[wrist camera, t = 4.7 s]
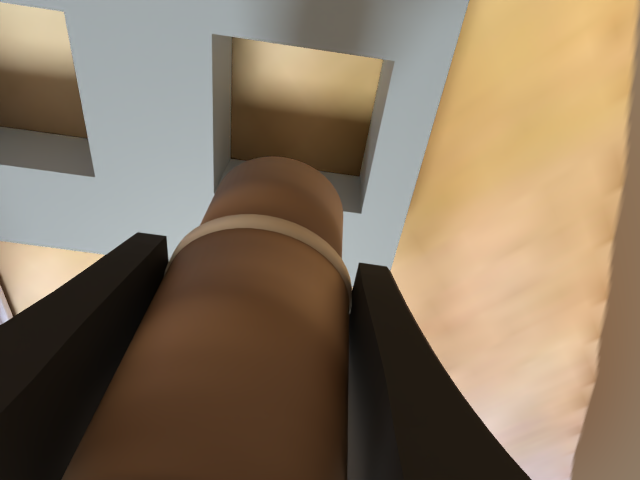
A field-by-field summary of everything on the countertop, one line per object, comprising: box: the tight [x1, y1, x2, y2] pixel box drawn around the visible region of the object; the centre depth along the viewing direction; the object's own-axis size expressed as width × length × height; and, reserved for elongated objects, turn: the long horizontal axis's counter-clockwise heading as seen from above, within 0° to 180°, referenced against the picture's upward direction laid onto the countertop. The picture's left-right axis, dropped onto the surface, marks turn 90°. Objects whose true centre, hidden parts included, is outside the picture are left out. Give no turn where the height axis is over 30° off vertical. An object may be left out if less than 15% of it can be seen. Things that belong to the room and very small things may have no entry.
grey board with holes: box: [0, 0, 469, 287], centre depth 16 cm, size 19×13×3 cm
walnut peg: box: [61, 156, 352, 480], centre depth 9 cm, size 4×4×8 cm
